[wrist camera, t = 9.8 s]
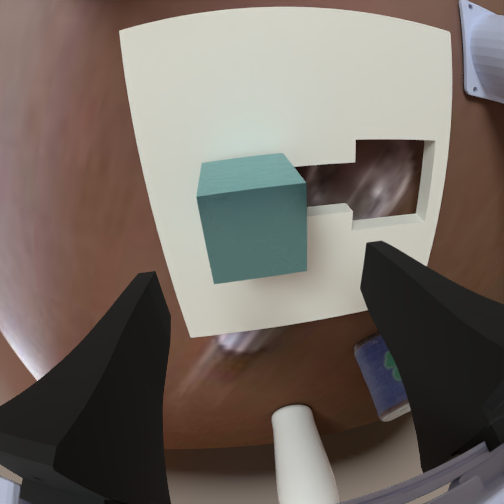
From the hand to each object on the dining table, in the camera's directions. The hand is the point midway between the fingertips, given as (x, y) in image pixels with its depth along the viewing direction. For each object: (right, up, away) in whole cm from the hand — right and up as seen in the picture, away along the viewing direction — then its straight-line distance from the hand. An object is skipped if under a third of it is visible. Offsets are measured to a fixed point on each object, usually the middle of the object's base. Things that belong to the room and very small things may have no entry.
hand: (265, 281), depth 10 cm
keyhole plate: (+3, +6, +9) cm, 11 cm away
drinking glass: (+5, -20, +26) cm, 33 cm away
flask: (+14, -7, +19) cm, 25 cm away
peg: (-1, +6, +8) cm, 10 cm away
